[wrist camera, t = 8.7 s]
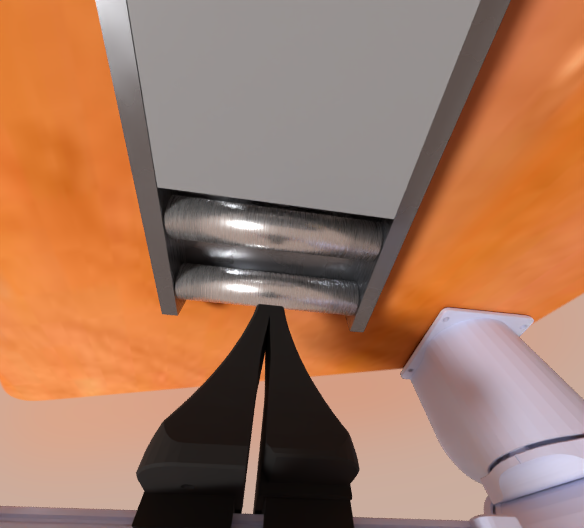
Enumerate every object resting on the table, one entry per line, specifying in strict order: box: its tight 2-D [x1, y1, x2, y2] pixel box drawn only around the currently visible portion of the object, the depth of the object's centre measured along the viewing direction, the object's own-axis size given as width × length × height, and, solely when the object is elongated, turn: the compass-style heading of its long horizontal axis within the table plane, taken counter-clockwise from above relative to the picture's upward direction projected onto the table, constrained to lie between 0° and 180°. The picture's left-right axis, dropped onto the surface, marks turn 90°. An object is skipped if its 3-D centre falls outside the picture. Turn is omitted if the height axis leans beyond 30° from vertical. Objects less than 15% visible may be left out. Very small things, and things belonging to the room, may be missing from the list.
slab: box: [127, 0, 481, 219], centre depth 7 cm, size 12×10×1 cm
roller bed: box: [95, 0, 511, 332], centre depth 11 cm, size 22×14×3 cm, turn 172°
